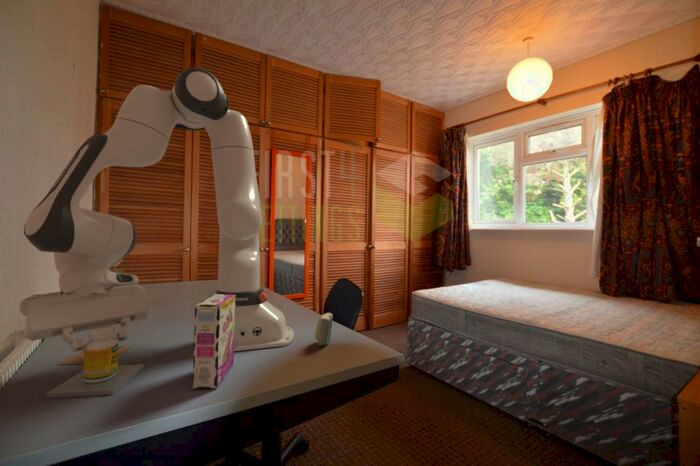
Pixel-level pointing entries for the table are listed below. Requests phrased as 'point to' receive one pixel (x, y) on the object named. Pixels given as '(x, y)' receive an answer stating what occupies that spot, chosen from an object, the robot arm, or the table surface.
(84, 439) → the table surface
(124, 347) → the tile
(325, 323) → the beige upright rounded block
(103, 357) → the supplement bottle
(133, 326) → the table surface
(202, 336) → the candy bar box
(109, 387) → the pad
